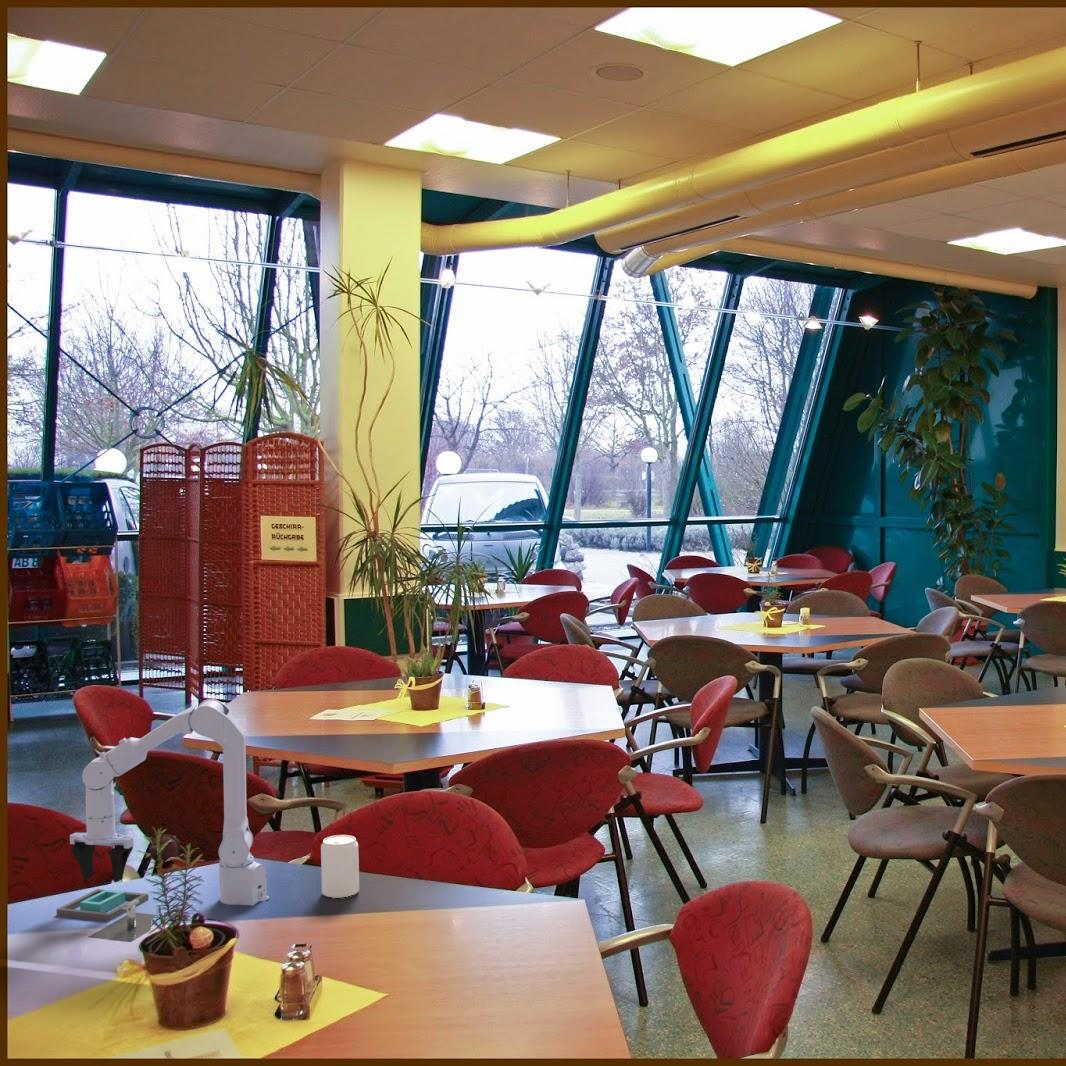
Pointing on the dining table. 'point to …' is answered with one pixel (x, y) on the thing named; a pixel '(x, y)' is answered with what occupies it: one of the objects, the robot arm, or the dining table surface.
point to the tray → (72, 912)
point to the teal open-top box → (103, 901)
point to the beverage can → (340, 866)
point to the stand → (127, 925)
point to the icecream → (169, 851)
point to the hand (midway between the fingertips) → (102, 879)
